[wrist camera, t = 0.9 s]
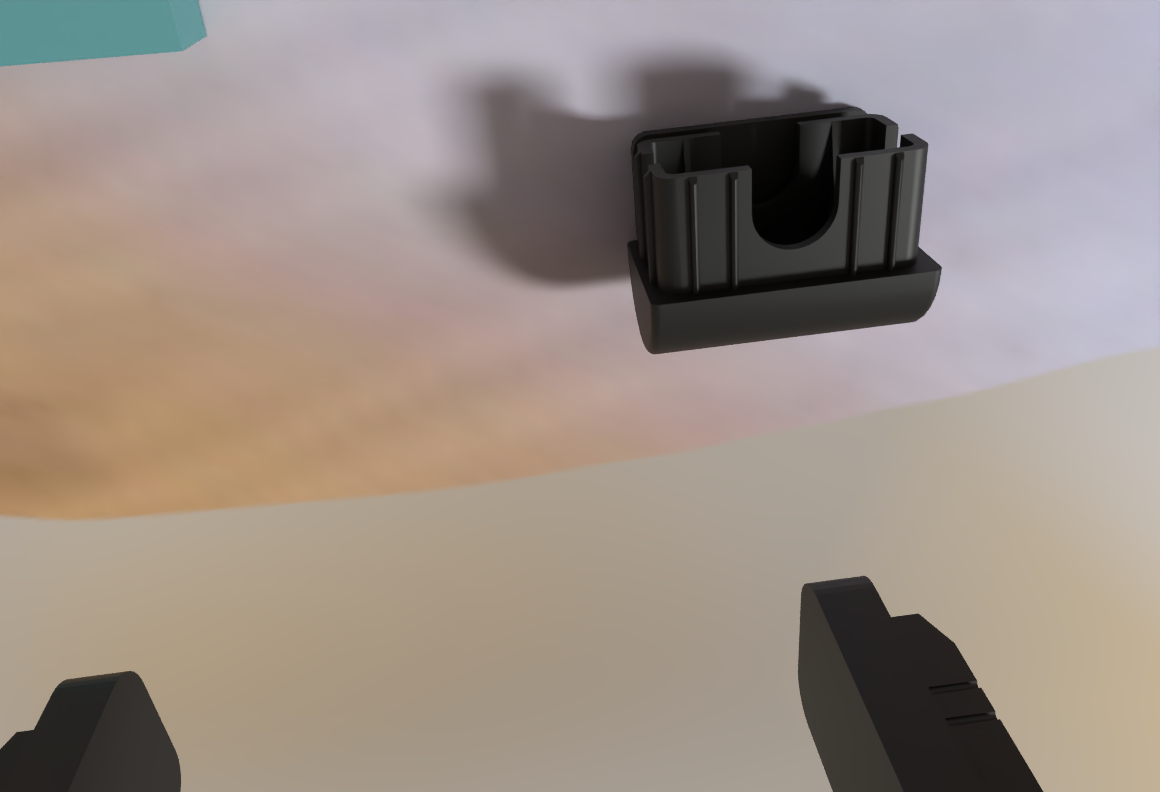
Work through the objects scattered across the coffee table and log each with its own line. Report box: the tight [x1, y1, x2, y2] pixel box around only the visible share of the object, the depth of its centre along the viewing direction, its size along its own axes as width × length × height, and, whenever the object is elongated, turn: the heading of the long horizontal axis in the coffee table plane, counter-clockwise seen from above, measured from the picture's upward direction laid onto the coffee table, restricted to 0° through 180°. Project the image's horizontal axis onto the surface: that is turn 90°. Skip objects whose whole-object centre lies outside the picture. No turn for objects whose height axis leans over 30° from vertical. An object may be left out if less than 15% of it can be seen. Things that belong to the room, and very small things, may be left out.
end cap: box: [627, 107, 942, 354], centre depth 34 cm, size 10×7×7 cm
